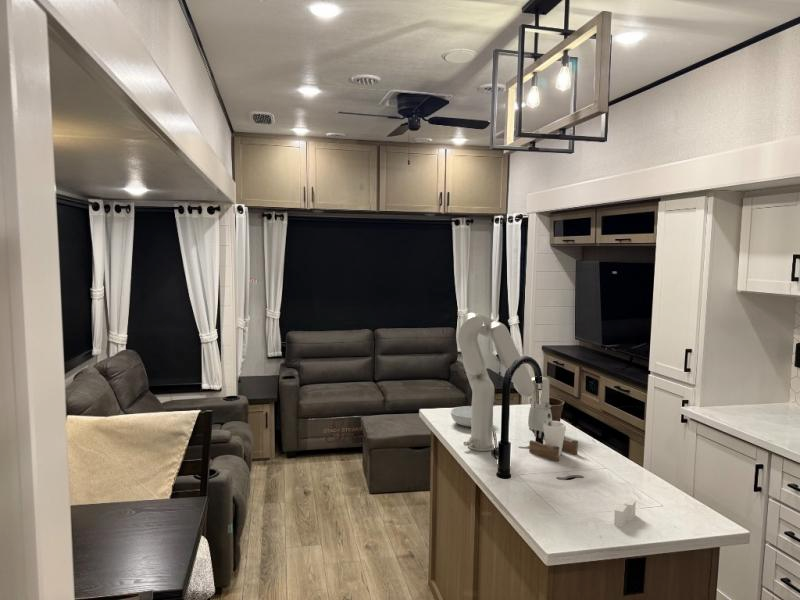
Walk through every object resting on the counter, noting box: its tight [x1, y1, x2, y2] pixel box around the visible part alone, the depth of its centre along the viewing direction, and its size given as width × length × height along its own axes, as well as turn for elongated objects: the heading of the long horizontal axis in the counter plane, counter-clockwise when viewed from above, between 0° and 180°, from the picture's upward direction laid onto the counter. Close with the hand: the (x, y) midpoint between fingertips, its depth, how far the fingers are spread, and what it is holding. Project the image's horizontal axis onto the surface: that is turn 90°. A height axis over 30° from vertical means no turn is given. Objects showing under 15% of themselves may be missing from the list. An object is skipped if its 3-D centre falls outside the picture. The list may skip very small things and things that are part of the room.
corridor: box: [528, 438, 579, 463], centre depth 232 cm, size 15×14×6 cm
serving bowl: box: [450, 405, 472, 428], centre depth 273 cm, size 21×21×7 cm
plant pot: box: [529, 396, 565, 422], centre depth 259 cm, size 16×16×16 cm
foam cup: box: [543, 421, 567, 456], centre depth 232 cm, size 10×9×13 cm
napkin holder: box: [613, 498, 637, 528], centre depth 171 cm, size 15×11×6 cm
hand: (539, 445), depth 238 cm, fingers closed
